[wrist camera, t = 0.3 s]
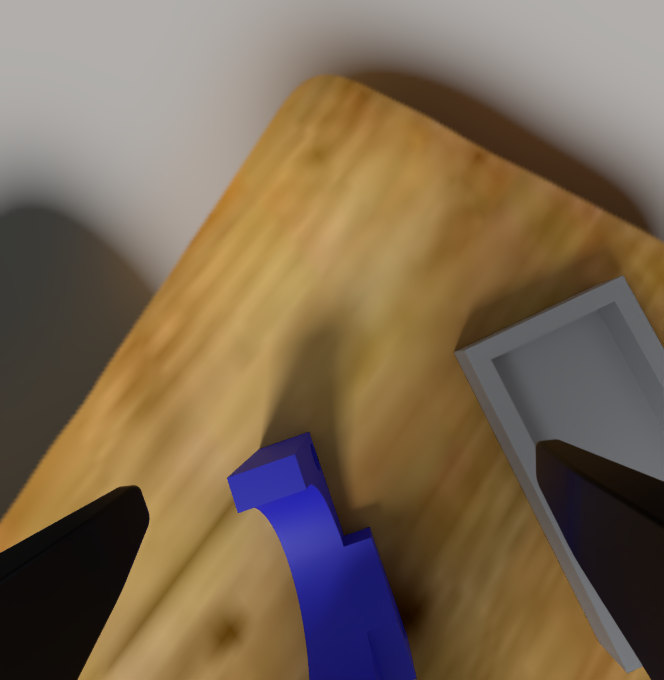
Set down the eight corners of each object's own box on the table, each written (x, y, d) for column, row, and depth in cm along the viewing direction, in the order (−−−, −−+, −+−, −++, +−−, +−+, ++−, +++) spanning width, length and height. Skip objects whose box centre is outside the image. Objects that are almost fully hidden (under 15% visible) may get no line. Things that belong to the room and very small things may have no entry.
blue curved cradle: (406, 634, 21) (430, 740, 15) (328, 660, 21) (320, 777, 15) (334, 422, 22) (328, 442, 16) (259, 448, 22) (226, 477, 16)
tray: (754, 570, 20) (799, 592, 18) (599, 643, 20) (627, 673, 18) (597, 284, 22) (622, 275, 20) (453, 352, 22) (464, 350, 20)
